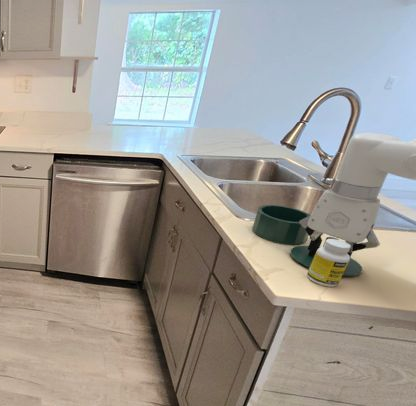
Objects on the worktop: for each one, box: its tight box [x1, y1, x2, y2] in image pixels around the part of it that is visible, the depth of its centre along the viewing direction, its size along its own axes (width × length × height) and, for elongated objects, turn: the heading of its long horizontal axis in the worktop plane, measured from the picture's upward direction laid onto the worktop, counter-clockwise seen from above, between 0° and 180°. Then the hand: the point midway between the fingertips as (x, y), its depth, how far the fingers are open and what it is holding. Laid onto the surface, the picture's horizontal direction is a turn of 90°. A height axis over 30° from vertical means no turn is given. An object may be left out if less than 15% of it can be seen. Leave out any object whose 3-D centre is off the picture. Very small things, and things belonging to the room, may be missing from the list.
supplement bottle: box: [306, 238, 351, 288], centre depth 81 cm, size 5×5×10 cm
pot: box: [251, 204, 311, 246], centre depth 101 cm, size 12×12×6 cm
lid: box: [290, 236, 363, 277], centre depth 88 cm, size 13×13×7 cm
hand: (326, 258), depth 89 cm, fingers open, 4 cm apart
